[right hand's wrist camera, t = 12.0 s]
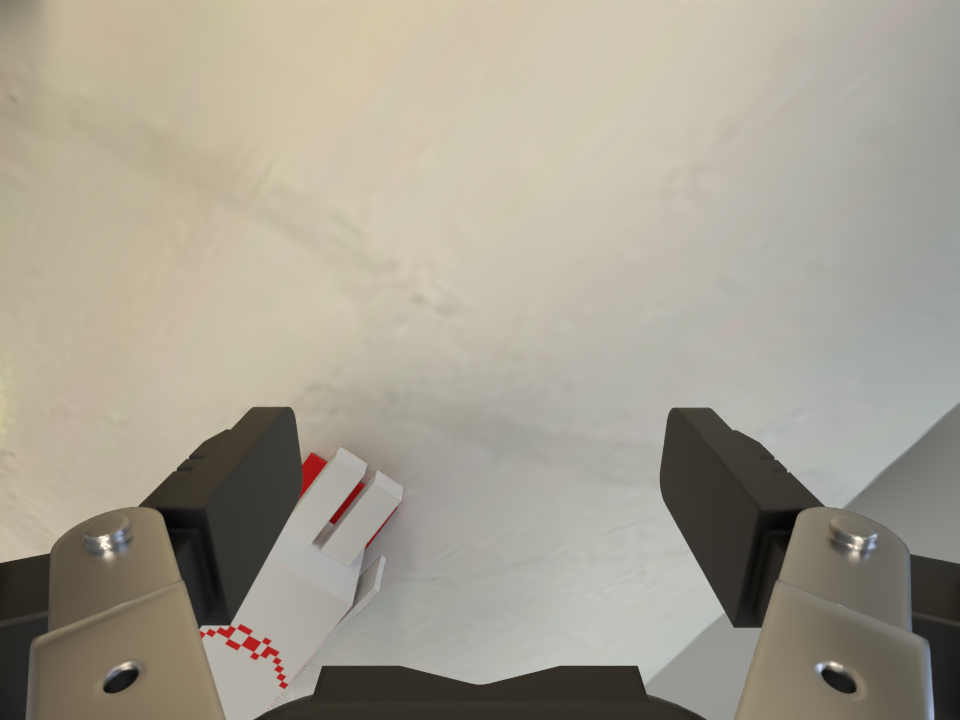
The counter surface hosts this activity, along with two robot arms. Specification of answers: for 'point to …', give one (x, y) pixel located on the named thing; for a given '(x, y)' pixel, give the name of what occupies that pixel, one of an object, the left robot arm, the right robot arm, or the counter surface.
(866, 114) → the counter surface
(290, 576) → the toy
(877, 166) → the counter surface
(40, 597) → the right robot arm
